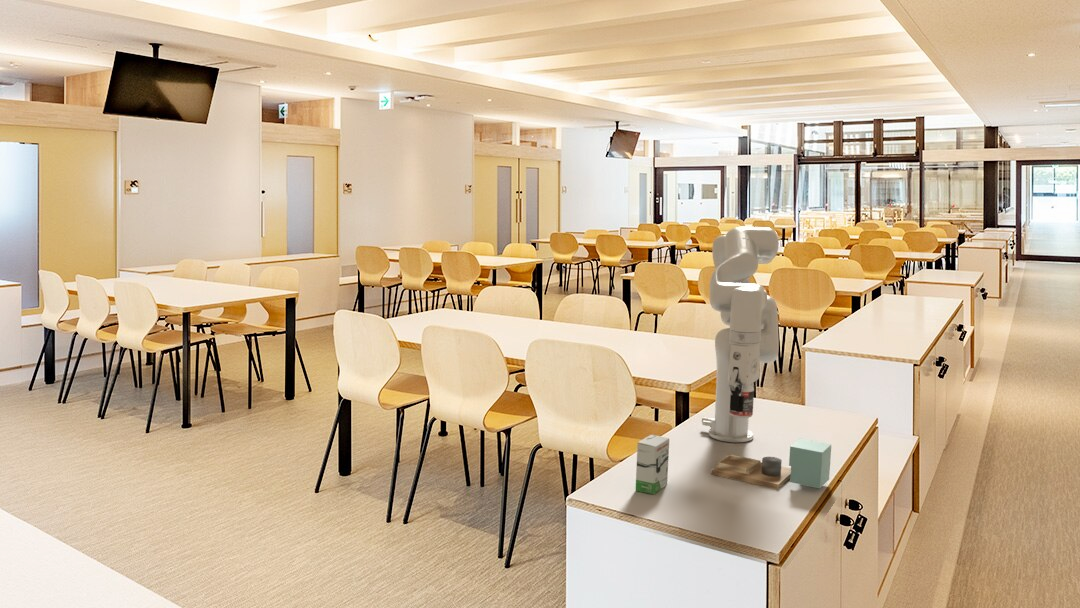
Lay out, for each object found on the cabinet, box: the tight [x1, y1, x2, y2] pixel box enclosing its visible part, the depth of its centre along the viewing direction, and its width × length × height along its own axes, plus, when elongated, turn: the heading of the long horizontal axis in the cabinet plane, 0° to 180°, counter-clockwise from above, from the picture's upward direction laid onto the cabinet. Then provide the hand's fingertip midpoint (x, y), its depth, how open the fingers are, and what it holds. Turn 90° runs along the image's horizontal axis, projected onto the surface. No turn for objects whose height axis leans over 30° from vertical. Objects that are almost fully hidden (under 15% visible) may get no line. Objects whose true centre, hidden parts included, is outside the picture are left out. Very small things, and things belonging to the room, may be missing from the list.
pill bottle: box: [729, 381, 755, 418], centre depth 208 cm, size 6×6×10 cm
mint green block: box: [788, 438, 832, 489], centre depth 201 cm, size 8×8×9 cm
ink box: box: [635, 434, 670, 495], centre depth 198 cm, size 9×5×12 cm, turn 148°
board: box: [710, 453, 791, 490], centre depth 209 cm, size 17×13×5 cm
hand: (741, 407), depth 209 cm, fingers closed on pill bottle, 5 cm apart
